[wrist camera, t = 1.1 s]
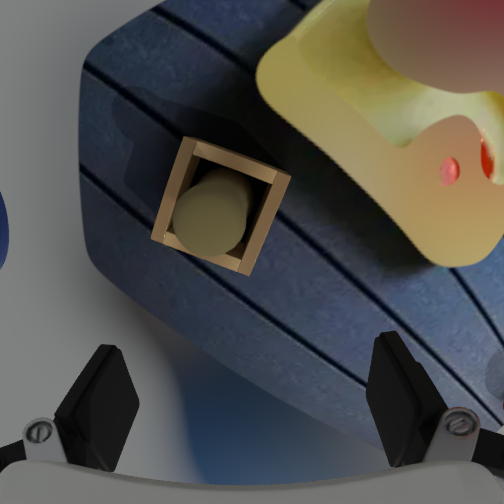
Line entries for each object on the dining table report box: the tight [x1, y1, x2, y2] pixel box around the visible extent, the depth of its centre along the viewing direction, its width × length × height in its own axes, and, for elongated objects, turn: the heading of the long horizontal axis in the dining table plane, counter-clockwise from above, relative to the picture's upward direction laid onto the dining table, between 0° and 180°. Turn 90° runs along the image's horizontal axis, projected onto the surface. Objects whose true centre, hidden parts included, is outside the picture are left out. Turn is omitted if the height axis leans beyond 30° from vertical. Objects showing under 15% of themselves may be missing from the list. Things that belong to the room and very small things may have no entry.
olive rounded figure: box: [173, 168, 254, 257], centre depth 26 cm, size 6×6×11 cm
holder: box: [151, 136, 291, 276], centre depth 29 cm, size 9×9×5 cm
